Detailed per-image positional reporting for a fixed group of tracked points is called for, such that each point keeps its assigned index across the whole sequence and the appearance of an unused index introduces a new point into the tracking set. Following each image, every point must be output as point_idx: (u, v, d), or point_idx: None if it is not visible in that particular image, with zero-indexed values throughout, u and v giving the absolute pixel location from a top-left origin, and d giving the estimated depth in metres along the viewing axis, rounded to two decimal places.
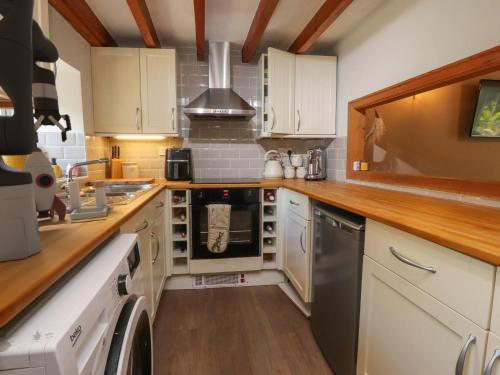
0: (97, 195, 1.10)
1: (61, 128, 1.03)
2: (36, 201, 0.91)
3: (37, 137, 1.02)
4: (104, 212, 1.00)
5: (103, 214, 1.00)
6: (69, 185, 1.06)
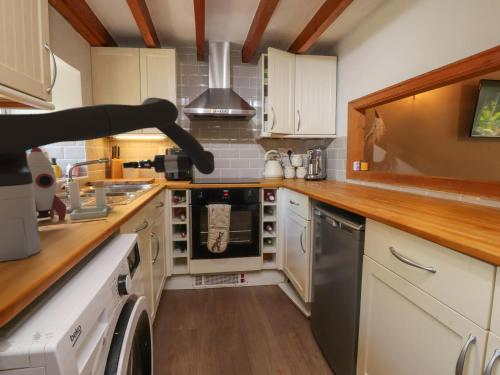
0: (97, 195, 1.10)
1: None
2: (36, 201, 0.91)
3: None
4: (104, 212, 1.00)
5: (103, 214, 1.00)
6: (69, 185, 1.06)
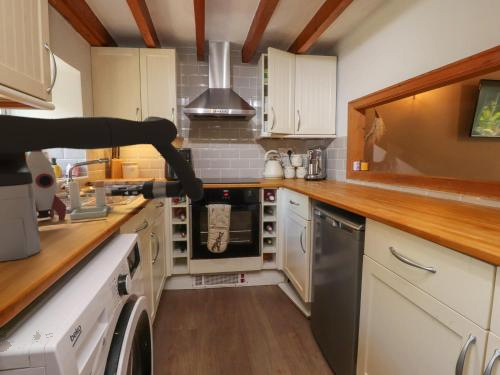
0: (97, 195, 1.10)
1: (124, 189, 1.09)
2: (36, 201, 0.91)
3: None
4: (104, 212, 1.00)
5: (103, 214, 1.00)
6: (69, 185, 1.06)
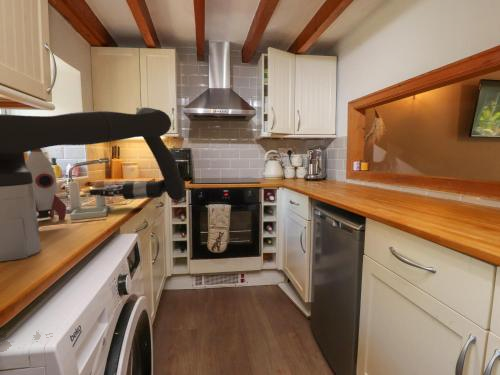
0: (97, 195, 1.10)
1: (103, 189, 1.10)
2: (36, 201, 0.91)
3: None
4: (104, 212, 1.00)
5: (103, 214, 1.00)
6: (69, 185, 1.06)
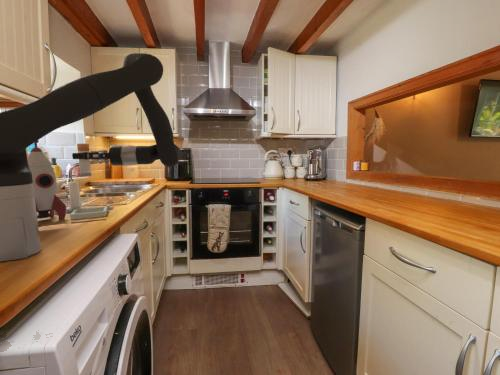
0: (81, 159, 0.98)
1: None
2: (36, 201, 0.91)
3: None
4: (104, 212, 1.00)
5: (103, 214, 1.00)
6: (69, 185, 1.06)
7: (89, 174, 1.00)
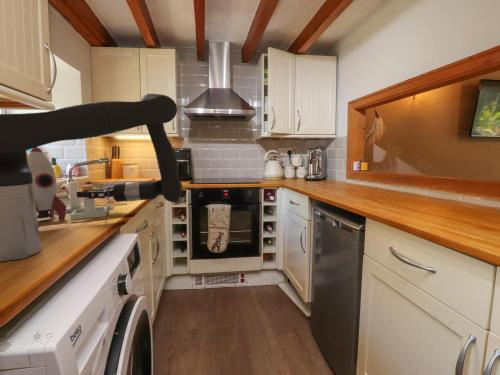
0: (86, 200, 1.00)
1: None
2: (36, 201, 0.91)
3: None
4: (104, 212, 1.00)
5: (103, 214, 1.00)
6: (69, 185, 1.06)
7: None
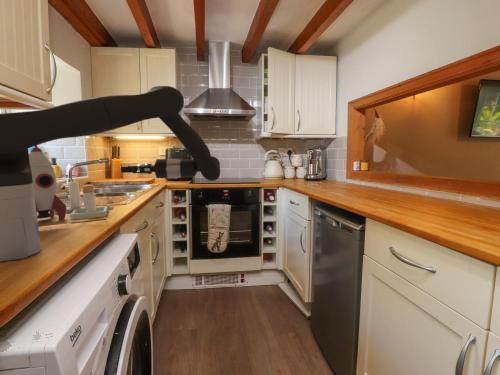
0: (86, 201, 1.00)
1: None
2: (36, 201, 0.91)
3: None
4: (104, 212, 1.00)
5: (103, 214, 1.00)
6: (69, 185, 1.06)
7: None
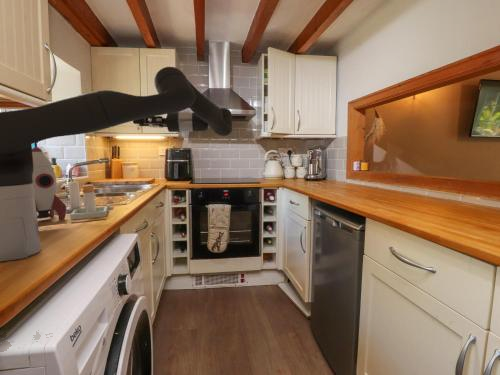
0: (86, 201, 1.00)
1: (147, 117, 0.98)
2: (36, 201, 0.91)
3: (143, 123, 1.06)
4: (104, 212, 1.00)
5: (103, 214, 1.00)
6: (69, 185, 1.06)
7: None
